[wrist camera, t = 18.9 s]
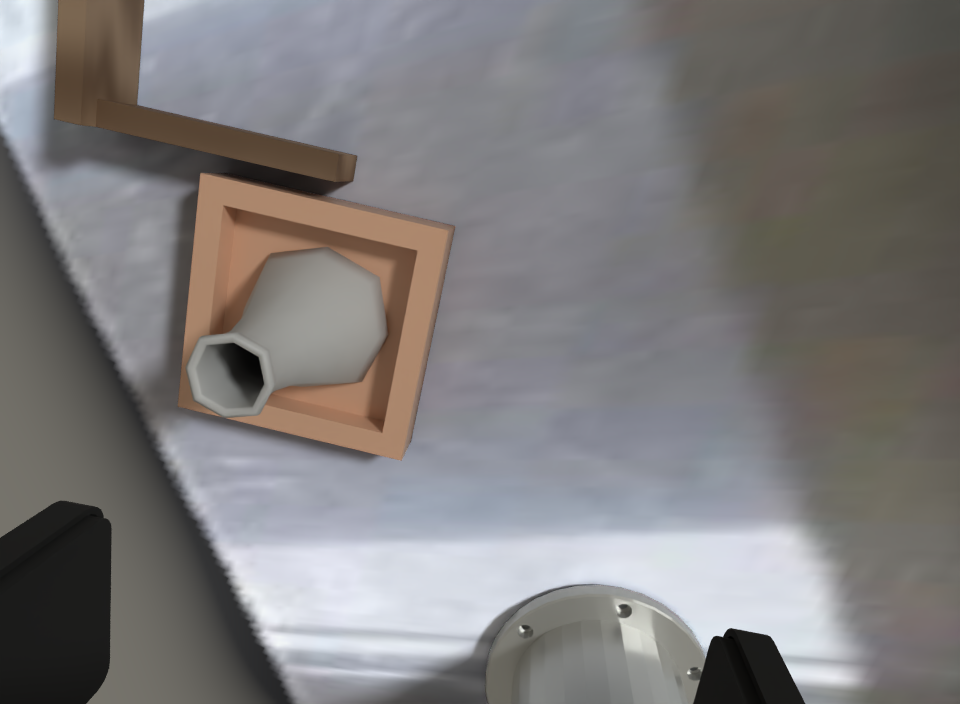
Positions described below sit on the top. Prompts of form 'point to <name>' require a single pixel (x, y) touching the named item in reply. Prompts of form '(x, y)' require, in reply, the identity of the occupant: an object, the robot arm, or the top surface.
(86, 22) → the bay
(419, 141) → the top surface
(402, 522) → the top surface
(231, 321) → the tray
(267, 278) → the flask
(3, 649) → the robot arm
